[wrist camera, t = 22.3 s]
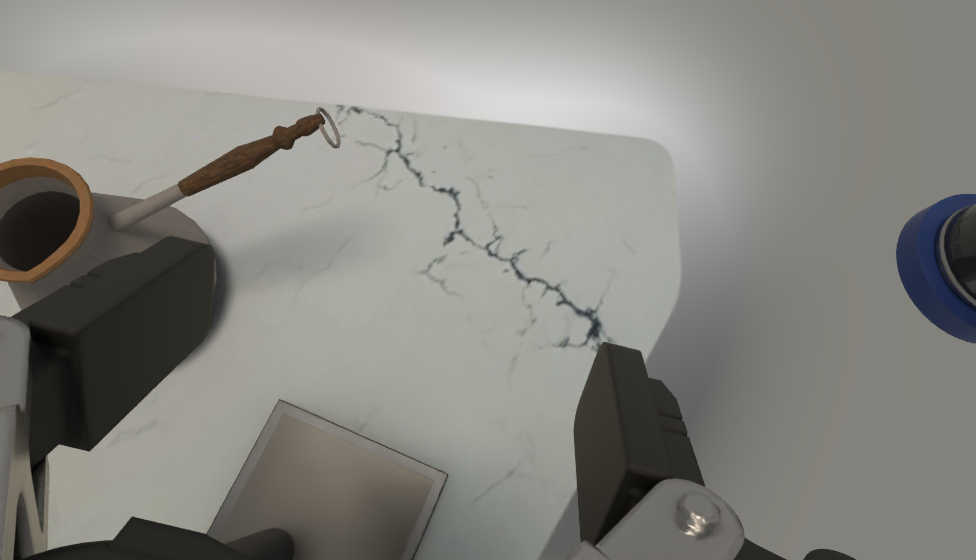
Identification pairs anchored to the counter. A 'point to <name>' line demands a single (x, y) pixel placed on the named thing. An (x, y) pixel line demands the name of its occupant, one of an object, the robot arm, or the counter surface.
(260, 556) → the stylus
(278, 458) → the tablet
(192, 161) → the counter surface
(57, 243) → the coffee pot
